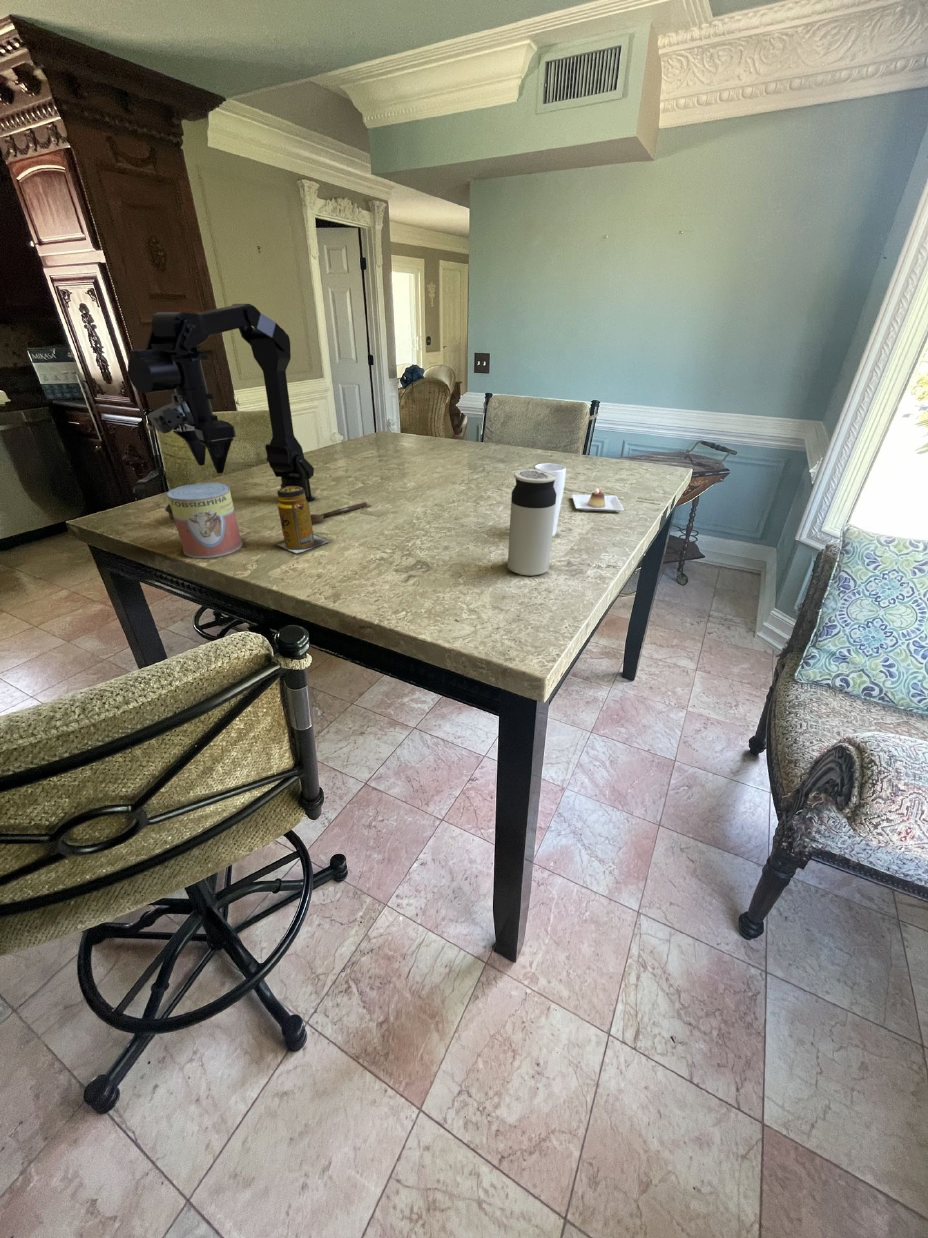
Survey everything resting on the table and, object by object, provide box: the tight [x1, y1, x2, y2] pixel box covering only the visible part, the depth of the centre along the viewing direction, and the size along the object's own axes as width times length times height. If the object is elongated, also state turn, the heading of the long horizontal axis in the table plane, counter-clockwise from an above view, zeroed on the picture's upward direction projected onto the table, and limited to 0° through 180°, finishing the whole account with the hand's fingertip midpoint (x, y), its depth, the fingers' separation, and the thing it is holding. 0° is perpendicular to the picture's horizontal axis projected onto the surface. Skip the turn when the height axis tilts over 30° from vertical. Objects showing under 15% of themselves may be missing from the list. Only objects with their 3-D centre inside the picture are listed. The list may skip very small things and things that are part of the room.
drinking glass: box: [533, 462, 567, 538], centre depth 109 cm, size 7×7×15 cm
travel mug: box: [507, 469, 557, 577], centre depth 93 cm, size 8×8×18 cm
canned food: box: [166, 482, 243, 559], centre depth 102 cm, size 11×11×12 cm
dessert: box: [571, 487, 625, 513], centre depth 130 cm, size 12×12×5 cm
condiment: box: [276, 486, 331, 554], centre depth 104 cm, size 7×8×12 cm
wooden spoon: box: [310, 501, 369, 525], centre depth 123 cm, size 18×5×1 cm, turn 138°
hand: (210, 469), depth 105 cm, fingers open, 9 cm apart
